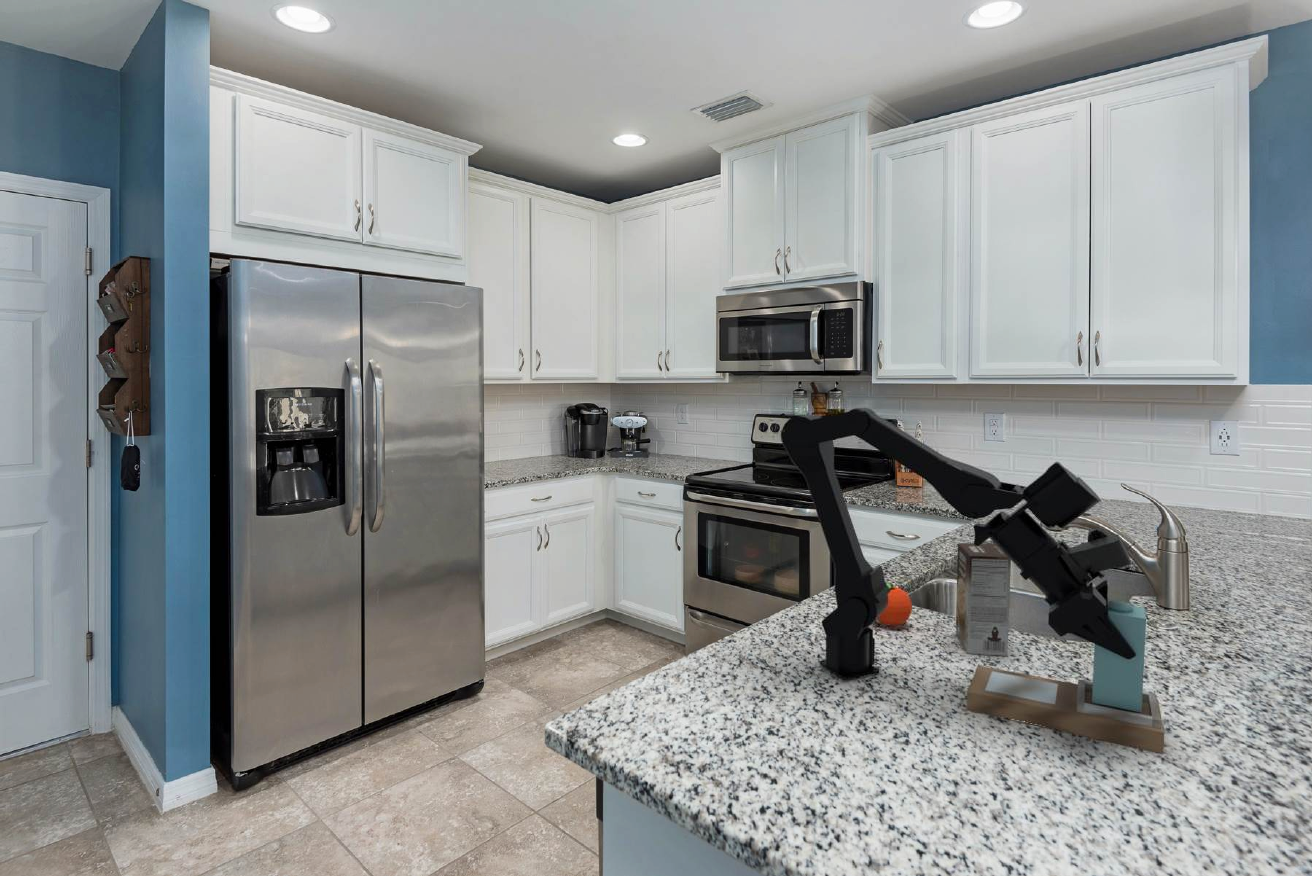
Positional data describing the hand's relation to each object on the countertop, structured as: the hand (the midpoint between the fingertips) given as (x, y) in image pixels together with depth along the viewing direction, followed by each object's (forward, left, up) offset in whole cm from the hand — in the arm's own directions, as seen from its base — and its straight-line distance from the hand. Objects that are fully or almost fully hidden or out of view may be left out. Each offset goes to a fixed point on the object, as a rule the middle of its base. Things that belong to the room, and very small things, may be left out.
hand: (1131, 650), depth 86 cm
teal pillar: (-1, +1, -7) cm, 7 cm away
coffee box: (+5, +28, -10) cm, 30 cm away
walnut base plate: (-4, +6, -10) cm, 12 cm away
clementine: (-2, +42, -10) cm, 43 cm away
